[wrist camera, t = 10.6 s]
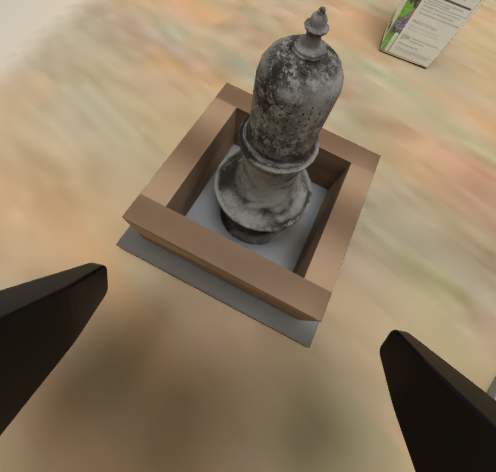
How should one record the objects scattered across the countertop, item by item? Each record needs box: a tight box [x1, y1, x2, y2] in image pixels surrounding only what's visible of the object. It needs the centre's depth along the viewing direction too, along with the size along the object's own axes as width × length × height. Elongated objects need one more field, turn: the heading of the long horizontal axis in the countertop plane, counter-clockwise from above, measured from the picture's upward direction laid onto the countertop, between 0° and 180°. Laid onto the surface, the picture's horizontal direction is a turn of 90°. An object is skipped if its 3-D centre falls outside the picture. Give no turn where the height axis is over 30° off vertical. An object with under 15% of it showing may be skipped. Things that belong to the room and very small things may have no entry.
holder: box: [116, 83, 380, 348], centre depth 16 cm, size 14×14×4 cm
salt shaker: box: [214, 7, 344, 245], centre depth 12 cm, size 6×6×12 cm
